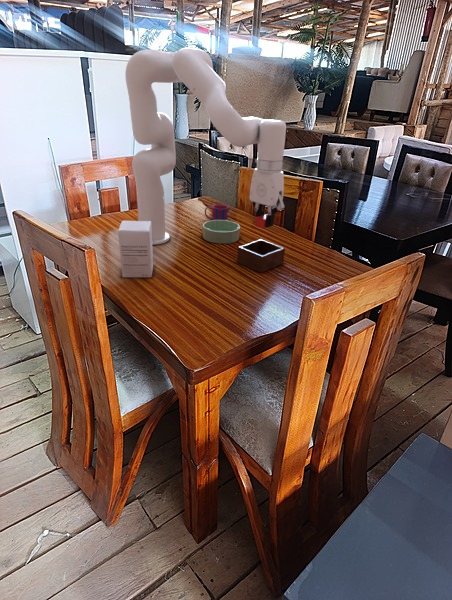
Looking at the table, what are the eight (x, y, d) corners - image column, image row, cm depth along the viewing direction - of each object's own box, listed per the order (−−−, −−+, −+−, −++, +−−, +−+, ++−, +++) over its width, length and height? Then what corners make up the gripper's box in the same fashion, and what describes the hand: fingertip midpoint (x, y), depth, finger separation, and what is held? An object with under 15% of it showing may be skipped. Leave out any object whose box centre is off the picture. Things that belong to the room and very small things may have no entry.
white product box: (125, 265, 127) (121, 219, 120) (153, 265, 128) (151, 220, 121) (121, 277, 119) (117, 230, 112) (151, 278, 120) (149, 230, 113)
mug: (225, 225, 165) (226, 209, 162) (202, 222, 168) (202, 206, 164) (229, 221, 171) (230, 205, 168) (207, 218, 173) (207, 202, 170)
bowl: (220, 246, 145) (221, 234, 143) (194, 235, 154) (195, 224, 152) (246, 238, 154) (247, 226, 152) (221, 228, 163) (221, 217, 161)
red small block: (263, 228, 125) (264, 219, 124) (255, 226, 127) (255, 216, 126) (273, 225, 128) (274, 216, 127) (265, 223, 130) (266, 214, 129)
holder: (260, 273, 127) (262, 256, 124) (236, 262, 133) (237, 246, 131) (283, 263, 134) (285, 248, 132) (259, 254, 141) (260, 239, 138)
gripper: (240, 162, 121) (237, 220, 130) (283, 171, 111) (277, 234, 120) (256, 159, 126) (252, 216, 135) (299, 168, 116) (292, 229, 125)
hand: (264, 224), depth 127 cm, fingers closed on red small block, 3 cm apart
